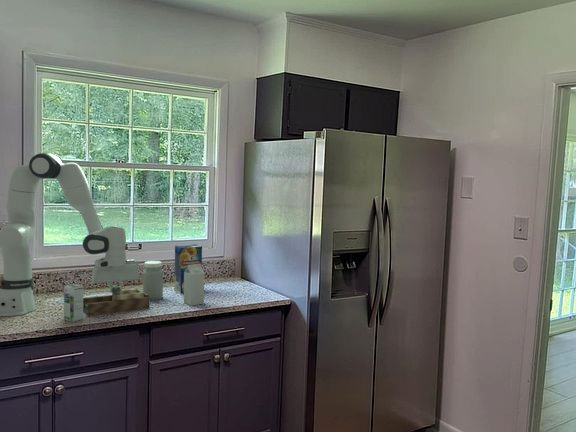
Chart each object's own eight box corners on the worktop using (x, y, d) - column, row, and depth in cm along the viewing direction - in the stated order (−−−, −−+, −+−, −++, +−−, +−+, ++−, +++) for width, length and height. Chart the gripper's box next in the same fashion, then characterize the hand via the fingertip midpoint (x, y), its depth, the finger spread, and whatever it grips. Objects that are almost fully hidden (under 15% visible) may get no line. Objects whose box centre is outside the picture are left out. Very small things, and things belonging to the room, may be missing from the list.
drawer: (116, 308, 234) (116, 289, 233) (110, 304, 241) (110, 284, 240) (143, 305, 241) (144, 286, 240) (137, 301, 248) (138, 282, 247)
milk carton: (183, 302, 252) (184, 263, 250) (196, 300, 257) (197, 262, 255) (190, 306, 247) (191, 266, 245) (203, 303, 251) (204, 264, 250)
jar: (160, 300, 254) (160, 264, 252) (140, 300, 254) (140, 263, 252) (164, 295, 264) (165, 260, 262) (145, 295, 264) (145, 260, 262)
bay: (88, 315, 226) (88, 301, 225) (81, 308, 236) (81, 295, 235) (149, 308, 241) (149, 295, 240) (141, 302, 251) (141, 289, 250)
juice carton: (180, 294, 269) (181, 247, 267) (174, 291, 275) (174, 245, 272) (201, 291, 276) (202, 246, 274) (194, 288, 282) (195, 244, 280)
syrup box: (63, 319, 219) (63, 285, 217) (75, 316, 224) (75, 283, 222) (71, 322, 216) (71, 287, 214) (84, 319, 221) (83, 285, 219)
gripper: (136, 258, 244) (136, 287, 246) (90, 261, 233) (90, 291, 234) (140, 260, 239) (140, 290, 240) (94, 263, 228) (94, 294, 229)
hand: (115, 291), depth 237 cm, fingers closed on drawer, 2 cm apart
